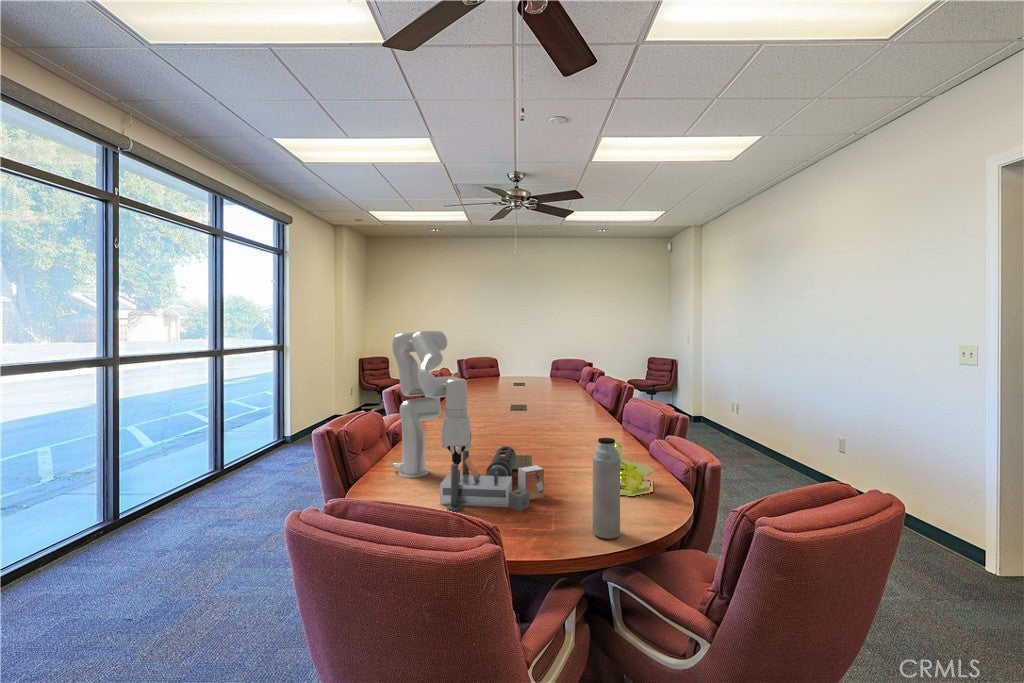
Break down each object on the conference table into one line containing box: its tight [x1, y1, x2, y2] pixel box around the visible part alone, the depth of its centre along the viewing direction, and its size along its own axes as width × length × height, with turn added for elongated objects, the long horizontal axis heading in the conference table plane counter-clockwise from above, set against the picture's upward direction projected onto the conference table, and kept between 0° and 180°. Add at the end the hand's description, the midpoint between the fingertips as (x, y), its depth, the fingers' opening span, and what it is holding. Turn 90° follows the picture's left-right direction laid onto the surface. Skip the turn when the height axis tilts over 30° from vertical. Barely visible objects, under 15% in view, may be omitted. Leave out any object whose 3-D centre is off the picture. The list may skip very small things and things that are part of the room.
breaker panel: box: [439, 469, 513, 508], centre depth 156 cm, size 24×11×10 cm, turn 84°
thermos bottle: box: [592, 437, 621, 539], centre depth 130 cm, size 8×8×28 cm
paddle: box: [465, 457, 481, 482], centre depth 157 cm, size 2×4×8 cm, turn 174°
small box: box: [517, 464, 545, 501], centre depth 159 cm, size 8×6×10 cm
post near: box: [446, 463, 463, 513], centre depth 148 cm, size 5×5×15 cm
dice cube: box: [508, 488, 530, 512], centre depth 150 cm, size 5×5×5 cm
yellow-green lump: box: [614, 440, 655, 497], centre depth 172 cm, size 18×25×16 cm
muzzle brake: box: [485, 445, 517, 477], centre depth 180 cm, size 10×28×10 cm, turn 174°
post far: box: [462, 449, 470, 475], centre depth 166 cm, size 5×5×15 cm
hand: (456, 464), depth 157 cm, fingers closed
